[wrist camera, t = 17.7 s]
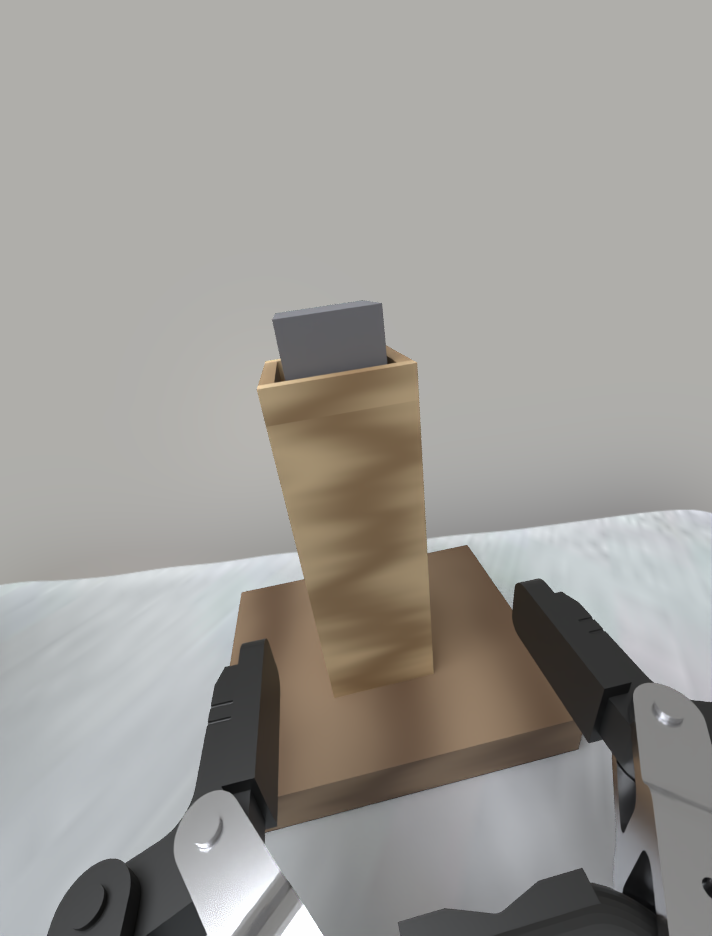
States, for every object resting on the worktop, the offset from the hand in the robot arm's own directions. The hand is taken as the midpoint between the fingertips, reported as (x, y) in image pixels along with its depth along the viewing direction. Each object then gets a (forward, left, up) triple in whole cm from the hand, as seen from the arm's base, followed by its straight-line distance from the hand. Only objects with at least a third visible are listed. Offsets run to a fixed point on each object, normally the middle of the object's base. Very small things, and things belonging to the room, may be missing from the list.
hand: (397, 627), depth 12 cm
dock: (0, +6, -10) cm, 12 cm away
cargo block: (0, +6, +6) cm, 9 cm away
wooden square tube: (0, +6, -8) cm, 10 cm away
